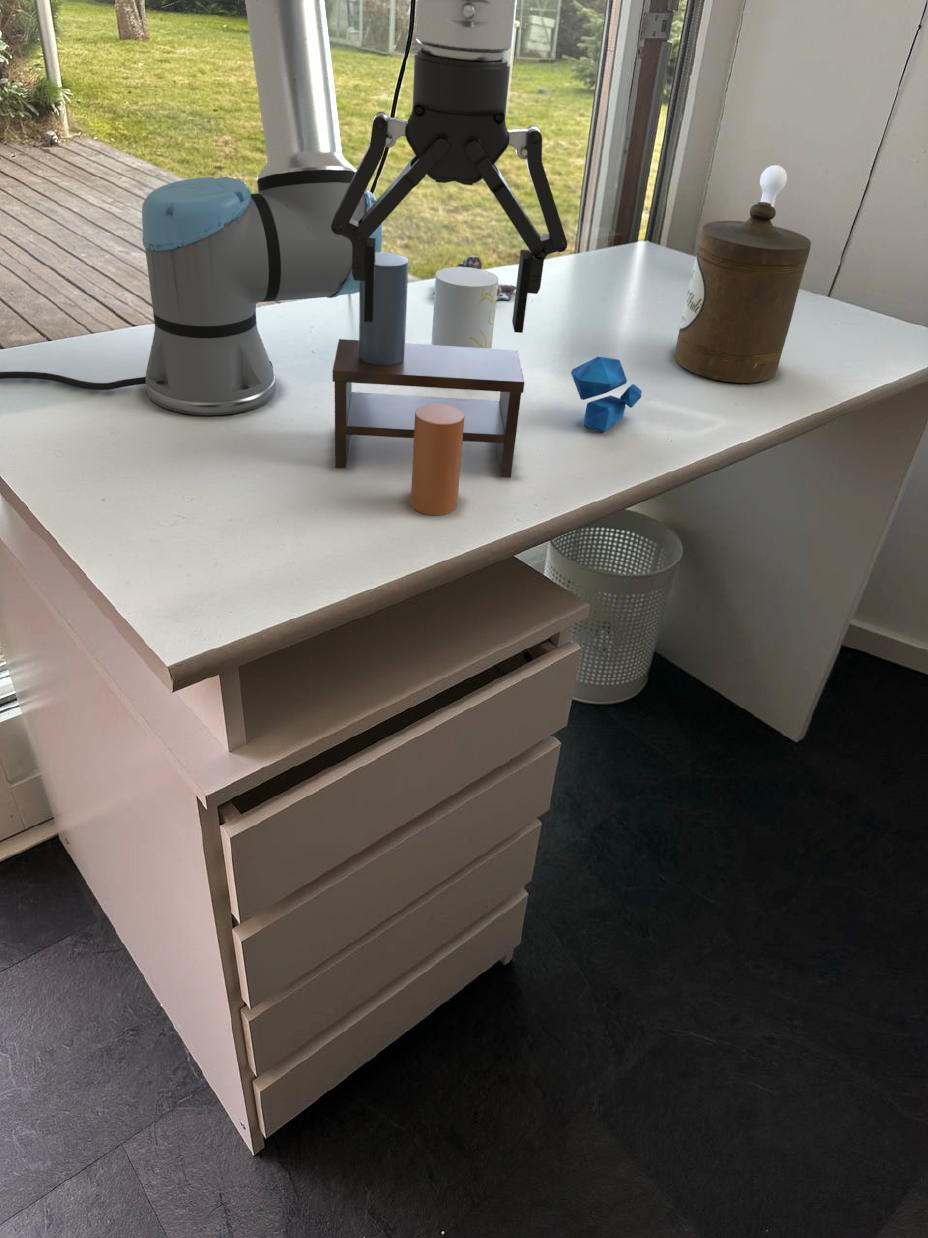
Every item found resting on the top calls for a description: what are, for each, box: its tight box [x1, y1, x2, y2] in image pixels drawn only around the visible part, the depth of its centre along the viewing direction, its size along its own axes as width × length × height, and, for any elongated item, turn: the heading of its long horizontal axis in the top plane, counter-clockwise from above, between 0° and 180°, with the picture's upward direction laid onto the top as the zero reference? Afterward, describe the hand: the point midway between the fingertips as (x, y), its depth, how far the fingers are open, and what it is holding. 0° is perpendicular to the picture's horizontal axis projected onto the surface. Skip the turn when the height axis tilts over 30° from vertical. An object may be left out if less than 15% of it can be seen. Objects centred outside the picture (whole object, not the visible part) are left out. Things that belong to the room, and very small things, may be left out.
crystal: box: [570, 356, 642, 433], centre depth 112 cm, size 7×9×12 cm
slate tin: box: [358, 251, 409, 365], centre depth 94 cm, size 5×5×10 cm
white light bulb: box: [759, 164, 788, 208], centre depth 161 cm, size 11×8×20 cm
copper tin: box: [410, 404, 465, 516], centre depth 92 cm, size 5×5×10 cm
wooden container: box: [673, 201, 812, 384], centre depth 128 cm, size 15×15×22 cm
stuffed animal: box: [432, 254, 516, 301], centre depth 150 cm, size 12×10×12 cm
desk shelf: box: [332, 338, 525, 478], centre depth 100 cm, size 20×9×11 cm, turn 92°
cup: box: [430, 266, 499, 349], centre depth 122 cm, size 8×8×12 cm
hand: (443, 322), depth 84 cm, fingers open, 13 cm apart
